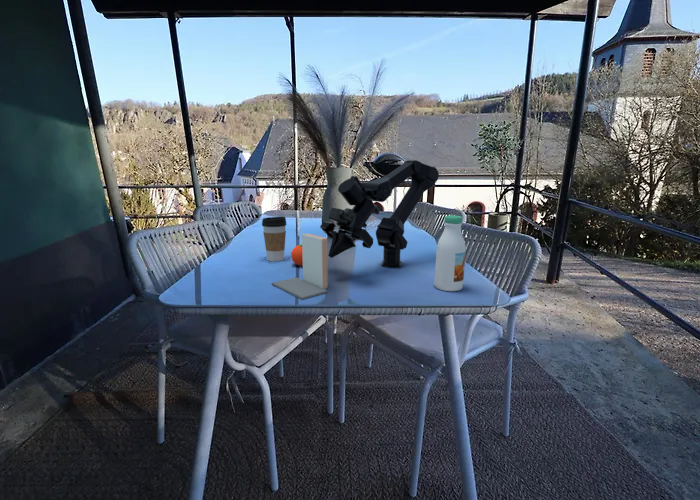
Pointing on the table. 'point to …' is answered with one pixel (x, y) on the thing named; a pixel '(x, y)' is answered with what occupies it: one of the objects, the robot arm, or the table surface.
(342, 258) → the table surface
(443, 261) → the milk bottle
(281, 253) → the coffee cup
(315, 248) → the tile
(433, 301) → the table surface
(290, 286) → the mat
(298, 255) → the clementine
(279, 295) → the table surface
